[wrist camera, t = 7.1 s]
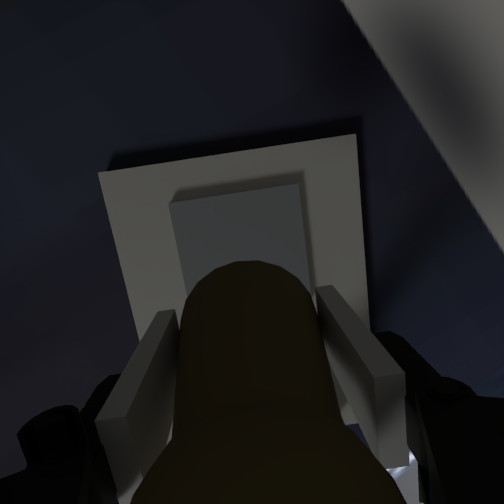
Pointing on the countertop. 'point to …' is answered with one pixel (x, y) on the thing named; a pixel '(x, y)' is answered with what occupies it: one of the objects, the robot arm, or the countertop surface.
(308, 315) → the cork
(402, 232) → the countertop surface
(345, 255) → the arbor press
